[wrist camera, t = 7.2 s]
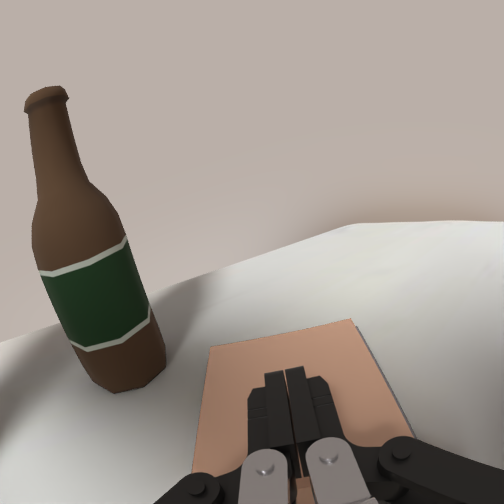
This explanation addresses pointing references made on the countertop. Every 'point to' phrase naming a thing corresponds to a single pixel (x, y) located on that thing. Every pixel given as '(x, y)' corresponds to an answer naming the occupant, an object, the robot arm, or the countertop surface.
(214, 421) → the tile
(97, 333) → the beer bottle
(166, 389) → the countertop surface
